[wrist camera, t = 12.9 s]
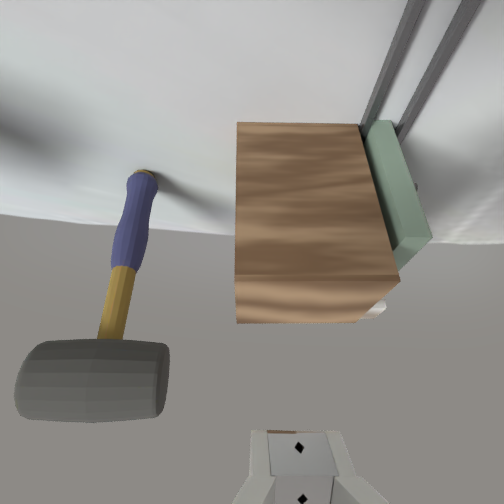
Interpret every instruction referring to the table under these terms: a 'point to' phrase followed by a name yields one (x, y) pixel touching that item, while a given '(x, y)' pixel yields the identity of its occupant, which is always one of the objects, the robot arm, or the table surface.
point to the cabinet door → (396, 193)
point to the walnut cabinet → (308, 226)
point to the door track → (432, 73)
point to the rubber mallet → (103, 344)
